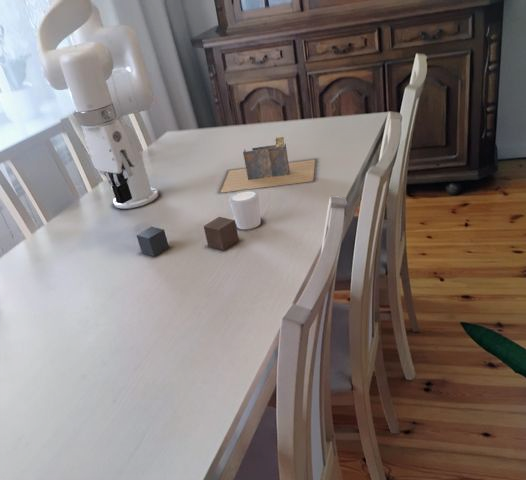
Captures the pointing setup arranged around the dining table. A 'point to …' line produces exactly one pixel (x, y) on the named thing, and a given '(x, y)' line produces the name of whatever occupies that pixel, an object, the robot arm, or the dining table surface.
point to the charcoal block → (152, 241)
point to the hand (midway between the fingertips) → (124, 200)
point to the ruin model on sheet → (268, 169)
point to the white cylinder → (246, 209)
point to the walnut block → (221, 233)
